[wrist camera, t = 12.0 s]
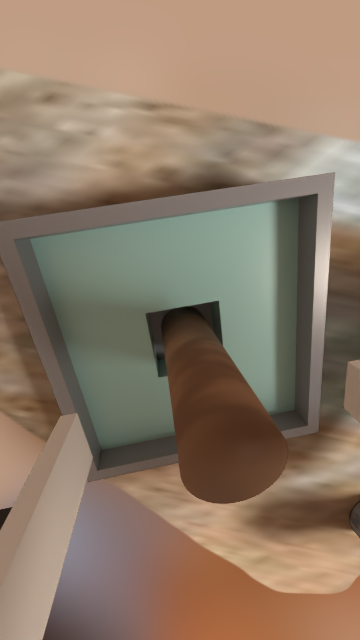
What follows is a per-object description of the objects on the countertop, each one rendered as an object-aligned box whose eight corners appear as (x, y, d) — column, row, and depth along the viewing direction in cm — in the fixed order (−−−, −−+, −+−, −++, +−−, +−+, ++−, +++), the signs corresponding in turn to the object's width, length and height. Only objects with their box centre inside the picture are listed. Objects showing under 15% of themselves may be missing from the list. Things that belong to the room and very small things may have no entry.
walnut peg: (202, 302, 21) (288, 408, 8) (207, 343, 23) (288, 490, 10) (157, 310, 21) (172, 433, 8) (165, 351, 22) (188, 513, 9)
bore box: (282, 190, 20) (334, 172, 14) (282, 391, 27) (318, 432, 21) (35, 227, 19) (-13, 223, 13) (101, 428, 26) (88, 482, 20)
